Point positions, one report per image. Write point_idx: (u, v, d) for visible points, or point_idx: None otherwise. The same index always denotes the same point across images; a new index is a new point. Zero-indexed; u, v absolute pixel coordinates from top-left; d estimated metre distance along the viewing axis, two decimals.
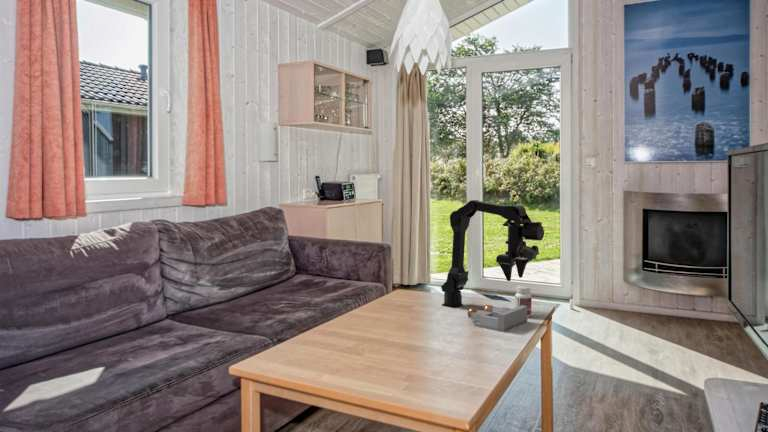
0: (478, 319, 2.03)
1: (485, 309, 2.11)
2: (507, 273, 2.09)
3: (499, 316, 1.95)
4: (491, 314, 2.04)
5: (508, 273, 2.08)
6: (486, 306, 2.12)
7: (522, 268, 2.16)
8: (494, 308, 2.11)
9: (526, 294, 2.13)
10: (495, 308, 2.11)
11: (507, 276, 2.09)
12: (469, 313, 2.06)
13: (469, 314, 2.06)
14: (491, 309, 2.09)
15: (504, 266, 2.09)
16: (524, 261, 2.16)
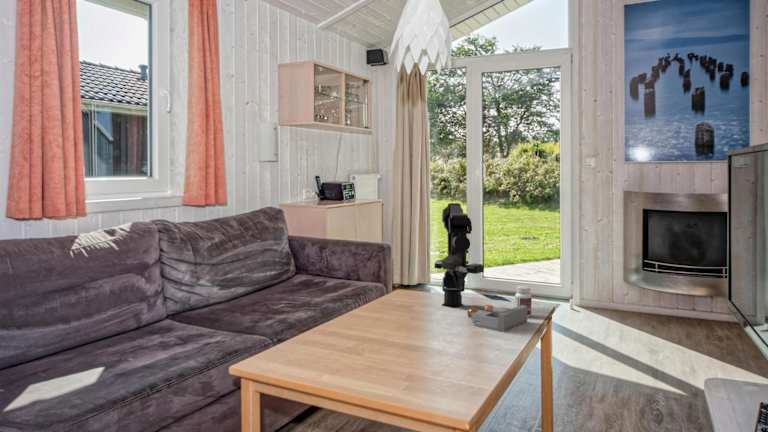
0: (478, 319, 2.03)
1: (485, 309, 2.11)
2: None
3: (499, 316, 1.95)
4: (491, 314, 2.04)
5: None
6: (486, 306, 2.12)
7: None
8: (494, 308, 2.11)
9: (526, 294, 2.13)
10: (495, 308, 2.11)
11: None
12: (469, 313, 2.06)
13: (469, 314, 2.06)
14: (491, 309, 2.09)
15: None
16: None
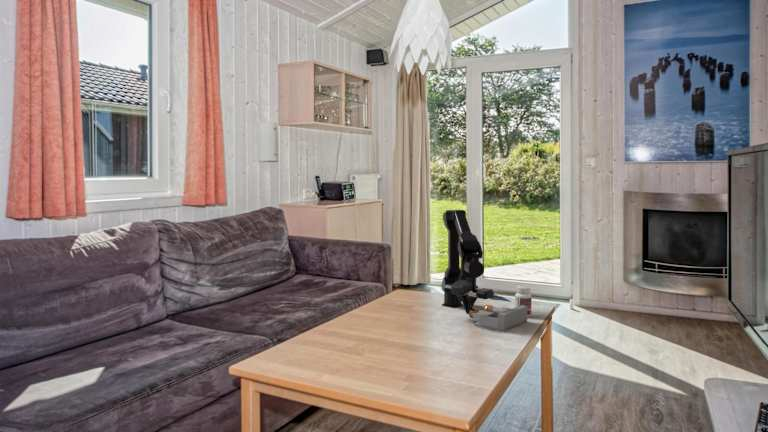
0: None
1: (485, 309, 2.11)
2: None
3: (499, 316, 1.95)
4: (492, 315, 2.04)
5: None
6: (486, 306, 2.12)
7: None
8: (494, 308, 2.11)
9: (526, 294, 2.13)
10: (495, 308, 2.11)
11: None
12: (470, 313, 2.06)
13: (470, 314, 2.06)
14: (491, 309, 2.09)
15: None
16: None
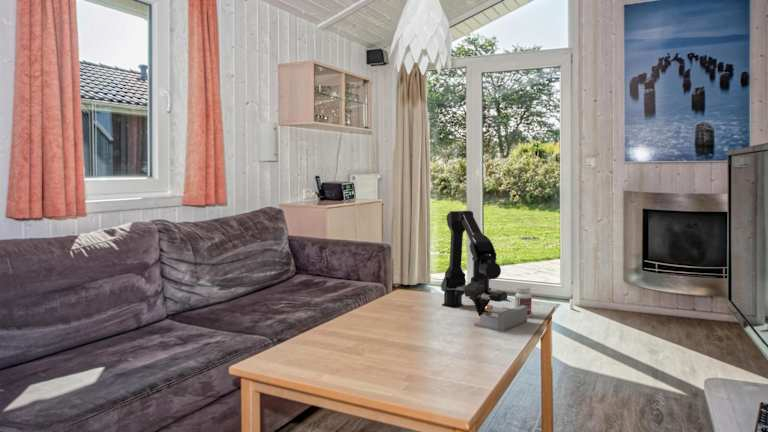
0: None
1: (485, 309, 2.11)
2: None
3: (499, 316, 1.95)
4: None
5: None
6: None
7: None
8: (494, 308, 2.11)
9: (526, 294, 2.13)
10: (495, 308, 2.11)
11: None
12: None
13: None
14: (491, 309, 2.09)
15: None
16: None
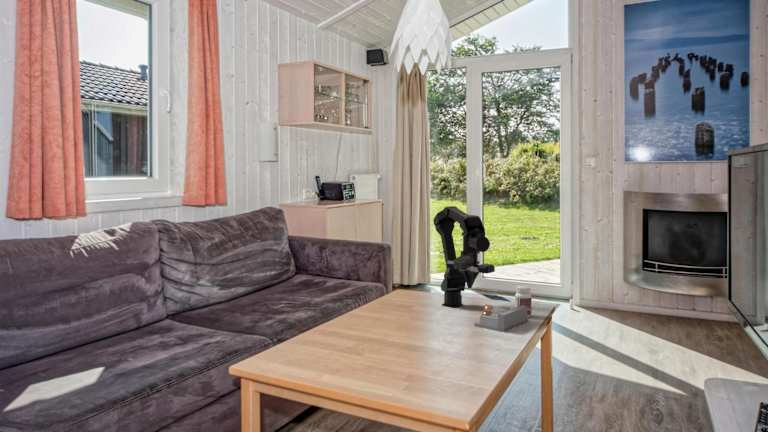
0: None
1: (485, 309, 2.11)
2: None
3: (499, 316, 1.95)
4: None
5: None
6: (486, 306, 2.12)
7: None
8: (494, 308, 2.11)
9: (526, 294, 2.13)
10: (495, 308, 2.11)
11: None
12: None
13: None
14: (491, 309, 2.09)
15: None
16: None
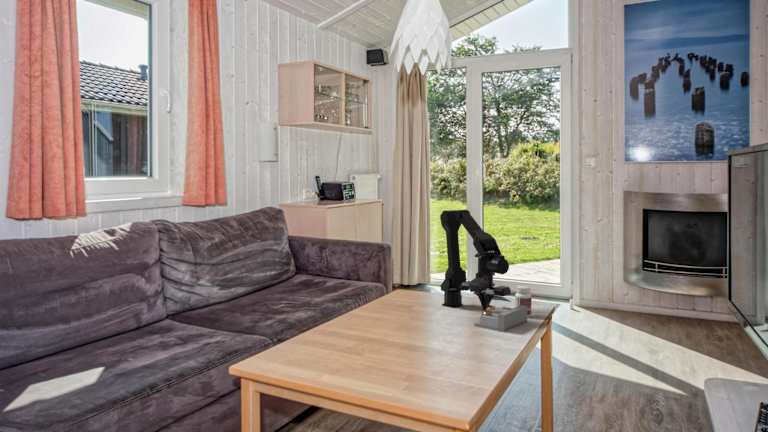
0: None
1: (487, 309, 2.10)
2: None
3: (499, 316, 1.95)
4: None
5: None
6: (488, 306, 2.11)
7: None
8: (496, 308, 2.10)
9: (526, 294, 2.13)
10: (497, 308, 2.10)
11: None
12: None
13: None
14: (493, 309, 2.09)
15: None
16: None
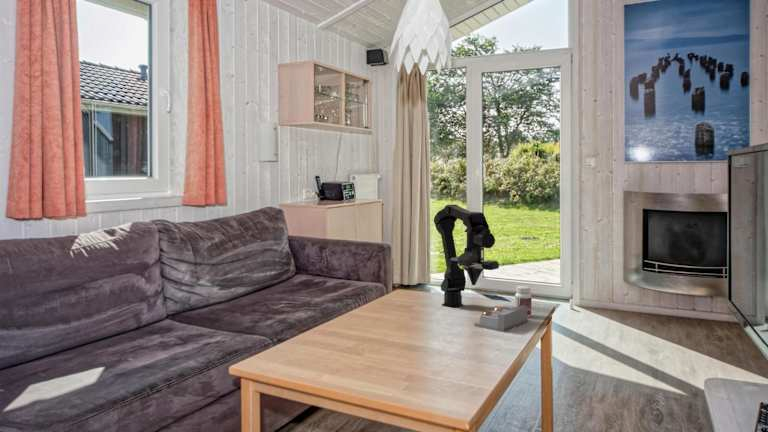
0: None
1: None
2: None
3: (499, 316, 1.95)
4: None
5: None
6: (495, 308, 2.09)
7: None
8: (504, 310, 2.08)
9: (526, 294, 2.13)
10: (505, 310, 2.08)
11: None
12: None
13: None
14: (501, 311, 2.07)
15: None
16: None
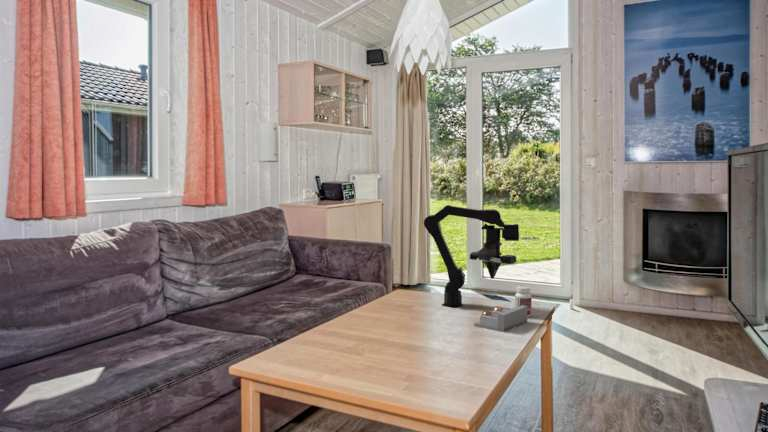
0: None
1: None
2: None
3: (499, 316, 1.95)
4: None
5: None
6: (495, 308, 2.09)
7: None
8: (504, 310, 2.08)
9: (526, 294, 2.13)
10: (505, 310, 2.08)
11: None
12: None
13: None
14: (501, 311, 2.07)
15: None
16: None
